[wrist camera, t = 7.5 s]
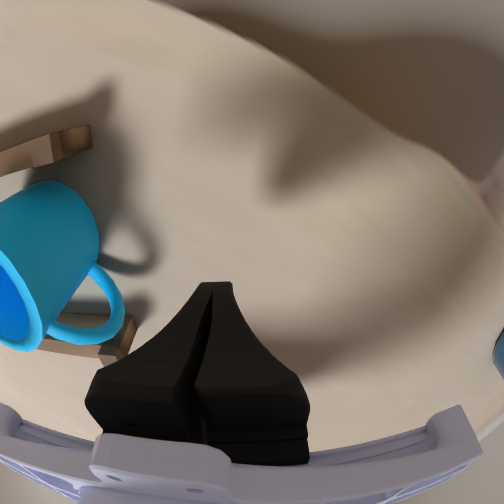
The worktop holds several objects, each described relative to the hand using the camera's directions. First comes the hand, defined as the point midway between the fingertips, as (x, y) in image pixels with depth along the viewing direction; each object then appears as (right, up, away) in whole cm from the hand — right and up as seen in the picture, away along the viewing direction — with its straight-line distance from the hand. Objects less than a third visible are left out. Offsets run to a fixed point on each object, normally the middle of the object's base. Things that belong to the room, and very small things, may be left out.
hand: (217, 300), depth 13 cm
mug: (-12, +3, +6) cm, 13 cm away
